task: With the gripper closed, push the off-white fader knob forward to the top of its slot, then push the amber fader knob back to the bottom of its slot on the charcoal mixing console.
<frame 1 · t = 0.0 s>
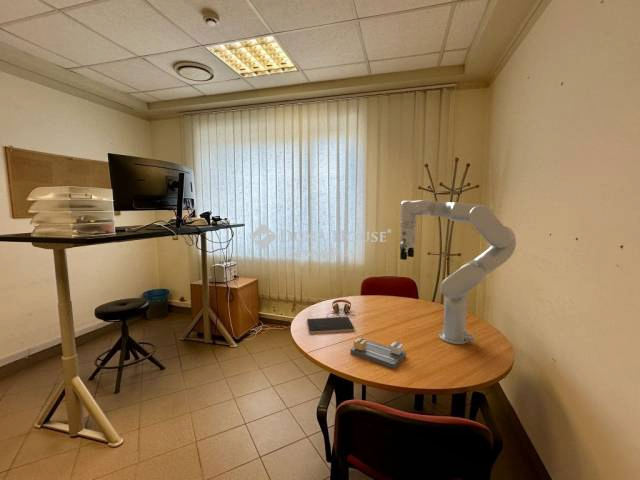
hand: (407, 258, 147), 37 cm above the table, tool pointing down, fingers open, 9 cm apart
amber fader: (360, 343, 123), point 4 cm above the table, slide at 14.0 cm
hardcover book: (329, 327, 152), on the table
white fader: (396, 347, 119), point 4 cm above the table, slide at 0.0 cm
mixer console: (377, 355, 122), on the table
headphones: (341, 313, 171), on the table
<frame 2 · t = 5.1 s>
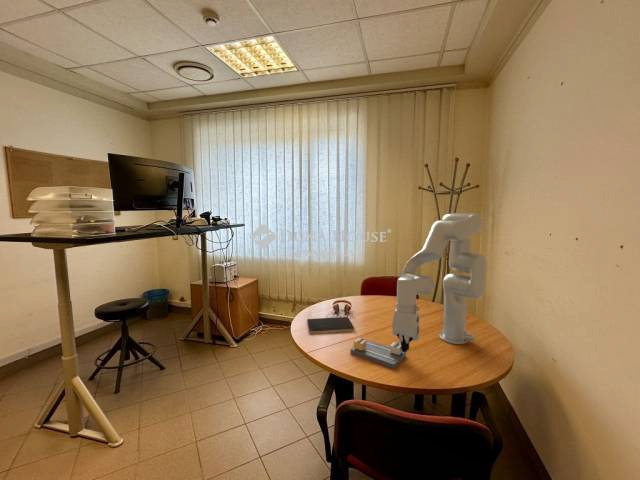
hand: (404, 350, 117), 4 cm above the table, tool pointing down, fingers closed
white fader: (396, 347, 119), point 4 cm above the table, slide at 0.0 cm, touching gripper
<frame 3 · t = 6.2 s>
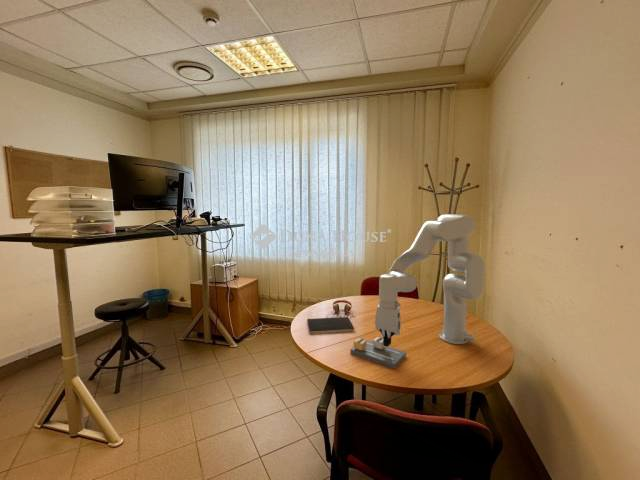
hand: (387, 345, 122), 4 cm above the table, tool pointing down, fingers closed
white fader: (379, 342, 124), point 4 cm above the table, slide at 7.9 cm, touching gripper
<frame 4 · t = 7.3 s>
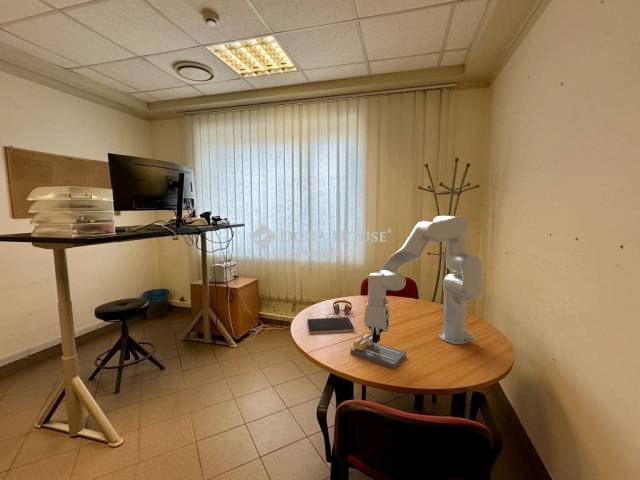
hand: (376, 341, 125), 4 cm above the table, tool pointing down, fingers closed
white fader: (368, 339, 127), point 4 cm above the table, slide at 13.1 cm, touching gripper
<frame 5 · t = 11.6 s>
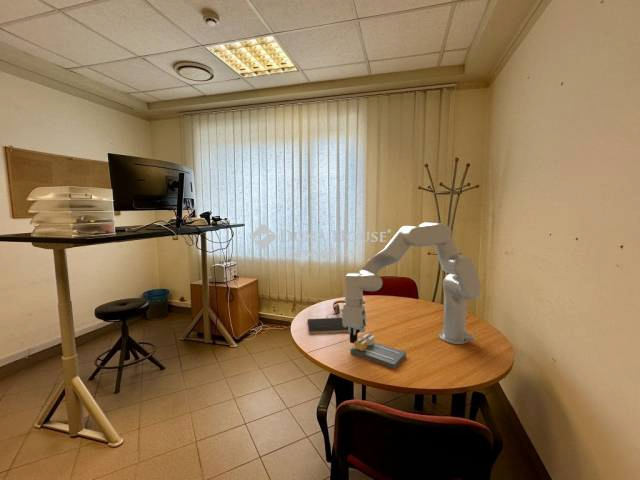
hand: (353, 341, 125), 4 cm above the table, tool pointing down, fingers closed
amber fader: (360, 343, 123), point 4 cm above the table, slide at 13.6 cm, touching gripper
white fader: (368, 338, 127), point 4 cm above the table, slide at 13.2 cm
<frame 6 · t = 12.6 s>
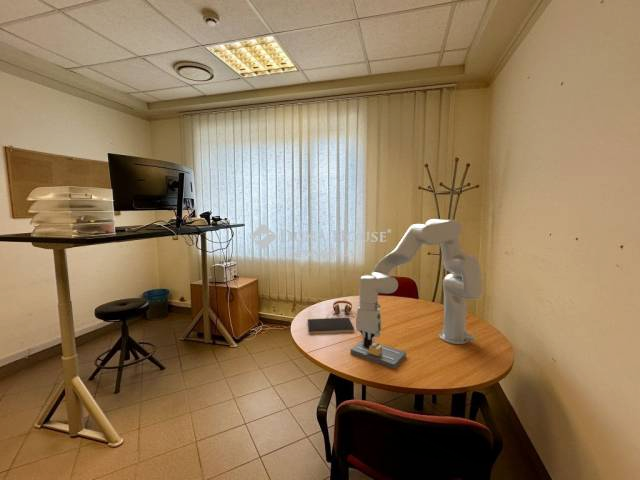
hand: (367, 346, 121), 4 cm above the table, tool pointing down, fingers closed
amber fader: (375, 348, 118), point 4 cm above the table, slide at 6.5 cm, touching gripper
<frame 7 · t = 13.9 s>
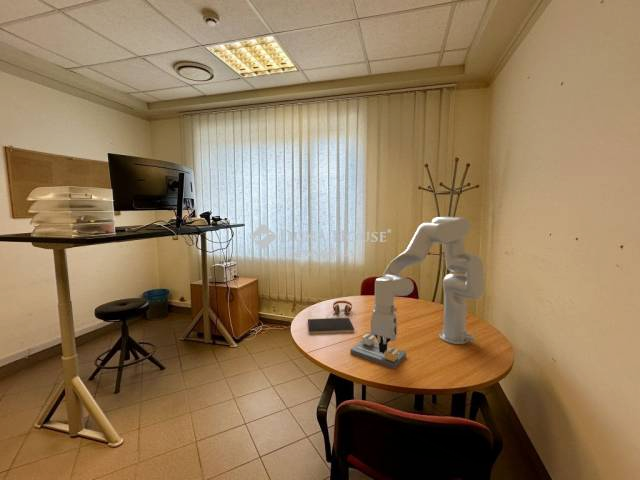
hand: (382, 351, 117), 4 cm above the table, tool pointing down, fingers closed
amber fader: (391, 353, 114), point 4 cm above the table, slide at -0.3 cm, touching gripper
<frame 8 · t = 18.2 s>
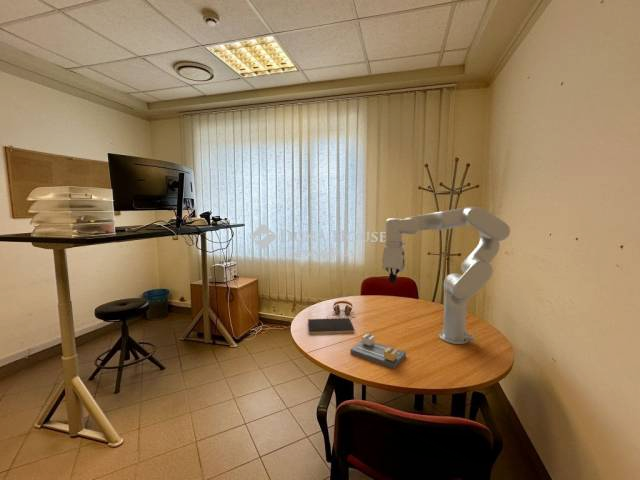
hand: (392, 282, 137), 27 cm above the table, tool pointing down, fingers closed
amber fader: (390, 353, 114), point 4 cm above the table, slide at -0.1 cm
at the end: white fader slide at 13.2 cm; amber fader slide at -0.1 cm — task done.
